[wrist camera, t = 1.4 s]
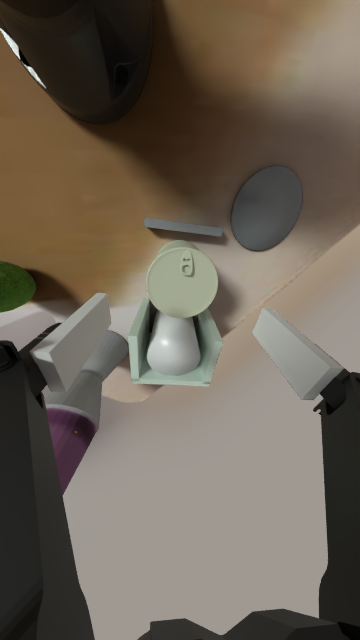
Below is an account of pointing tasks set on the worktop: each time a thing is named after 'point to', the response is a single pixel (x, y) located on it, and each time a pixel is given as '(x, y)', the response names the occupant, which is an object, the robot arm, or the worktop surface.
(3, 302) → the fruit
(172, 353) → the dispenser
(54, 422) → the lamp
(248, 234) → the coaster
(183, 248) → the can
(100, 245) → the worktop surface
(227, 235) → the worktop surface
